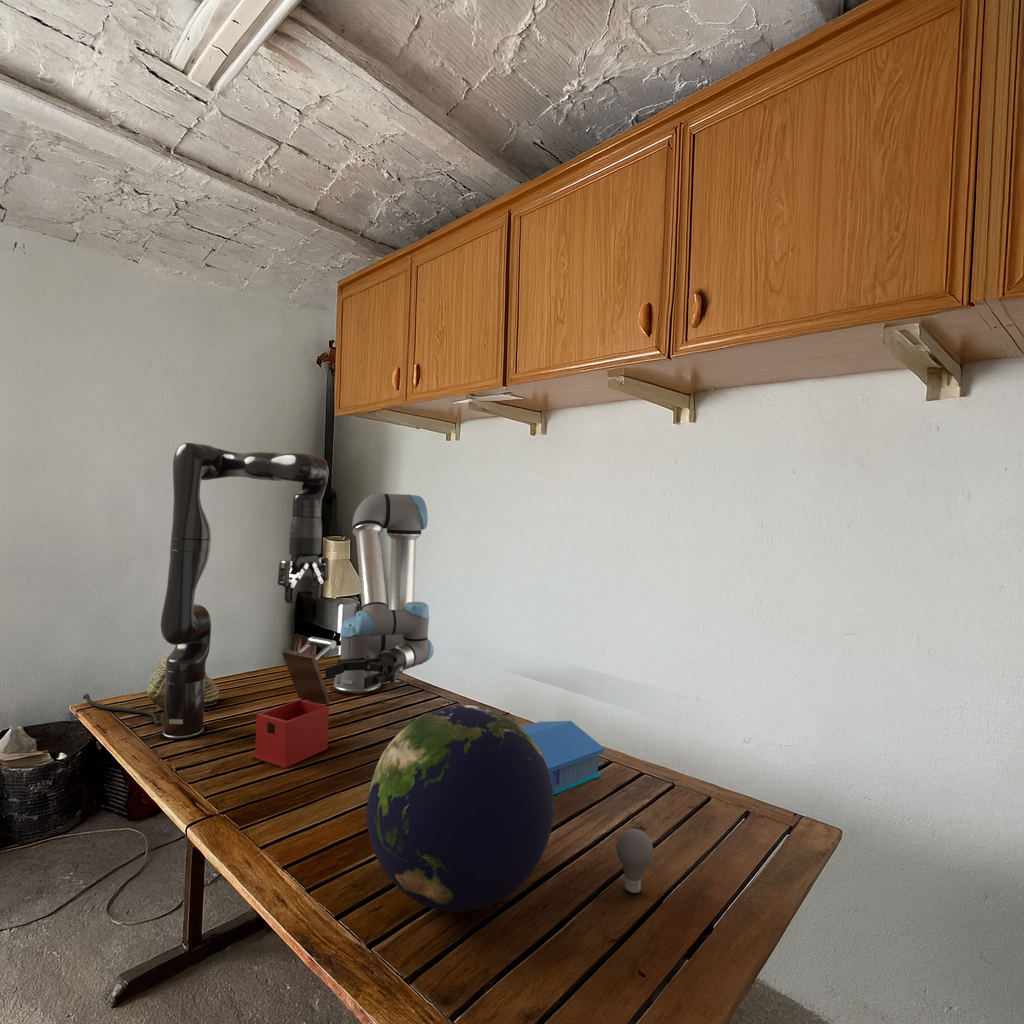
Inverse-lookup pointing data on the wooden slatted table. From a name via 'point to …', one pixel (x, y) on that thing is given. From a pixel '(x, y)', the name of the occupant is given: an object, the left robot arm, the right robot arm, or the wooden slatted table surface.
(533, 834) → the globe
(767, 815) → the wooden slatted table surface
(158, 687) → the fossil
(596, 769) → the model building
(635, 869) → the light bulb
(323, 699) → the lid
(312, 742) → the chest
